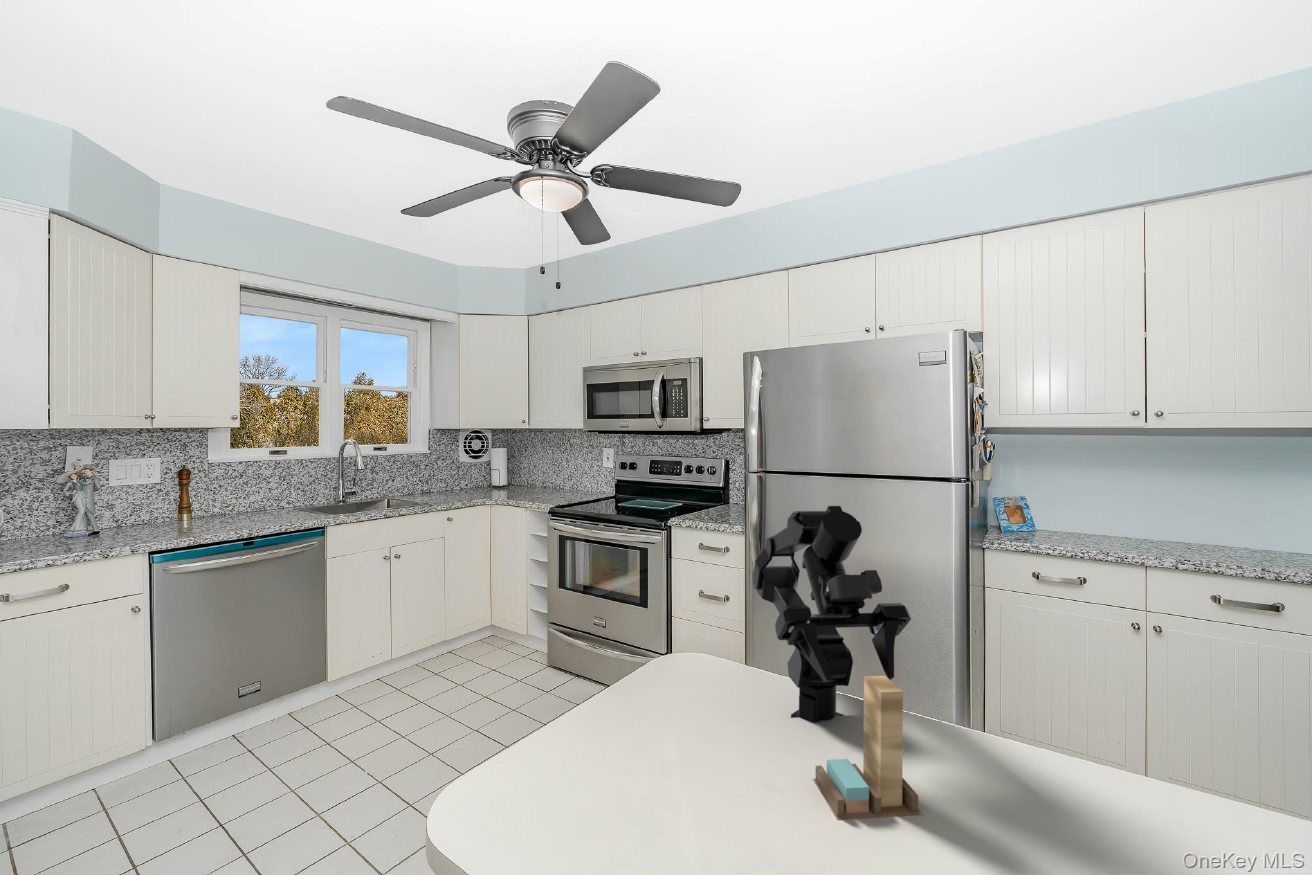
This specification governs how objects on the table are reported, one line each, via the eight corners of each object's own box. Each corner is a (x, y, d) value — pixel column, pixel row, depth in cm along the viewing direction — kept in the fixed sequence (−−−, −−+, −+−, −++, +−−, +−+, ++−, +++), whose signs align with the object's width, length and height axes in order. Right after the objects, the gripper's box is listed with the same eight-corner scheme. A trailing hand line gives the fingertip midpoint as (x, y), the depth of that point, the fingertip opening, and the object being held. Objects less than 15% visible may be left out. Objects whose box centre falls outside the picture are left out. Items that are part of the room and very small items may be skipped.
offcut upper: (826, 771, 74) (826, 759, 74) (847, 769, 74) (847, 758, 74) (846, 800, 68) (846, 788, 68) (868, 799, 68) (869, 786, 68)
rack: (812, 786, 75) (812, 763, 75) (889, 781, 76) (889, 759, 76) (837, 828, 67) (837, 802, 67) (923, 822, 68) (923, 797, 68)
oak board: (863, 784, 74) (863, 676, 74) (884, 783, 74) (884, 675, 74) (880, 806, 69) (880, 692, 69) (902, 805, 70) (902, 691, 69)
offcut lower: (826, 782, 74) (826, 771, 74) (847, 781, 74) (847, 769, 74) (846, 813, 68) (846, 800, 68) (868, 811, 68) (868, 799, 68)
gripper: (781, 550, 82) (808, 656, 71) (904, 548, 84) (949, 651, 73) (765, 590, 90) (787, 691, 79) (878, 587, 92) (915, 686, 81)
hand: (859, 679), depth 78 cm, fingers open, 9 cm apart
